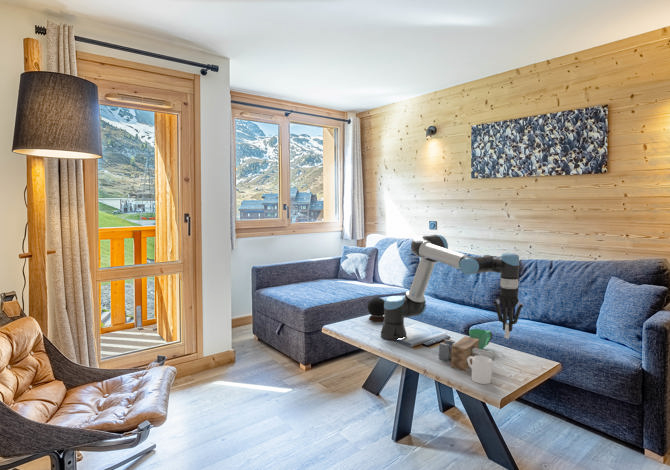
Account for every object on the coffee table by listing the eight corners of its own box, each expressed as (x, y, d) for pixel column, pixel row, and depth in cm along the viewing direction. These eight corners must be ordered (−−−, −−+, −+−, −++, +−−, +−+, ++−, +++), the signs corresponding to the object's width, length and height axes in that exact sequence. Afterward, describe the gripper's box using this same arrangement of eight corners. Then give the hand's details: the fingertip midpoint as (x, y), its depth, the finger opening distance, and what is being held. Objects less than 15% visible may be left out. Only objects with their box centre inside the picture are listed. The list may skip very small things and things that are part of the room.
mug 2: (472, 371, 185) (473, 351, 184) (494, 381, 174) (495, 360, 174) (460, 375, 180) (461, 354, 180) (482, 385, 170) (483, 363, 169)
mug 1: (478, 354, 206) (479, 335, 205) (464, 348, 214) (464, 330, 214) (497, 349, 212) (498, 331, 212) (483, 344, 221) (484, 326, 220)
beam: (451, 366, 190) (451, 345, 189) (464, 355, 204) (465, 336, 203) (465, 370, 185) (466, 349, 185) (478, 359, 200) (478, 339, 199)
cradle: (438, 359, 199) (439, 343, 198) (445, 354, 205) (445, 339, 205) (448, 361, 196) (448, 345, 195) (454, 356, 202) (454, 341, 201)
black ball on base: (377, 315, 276) (377, 294, 275) (390, 319, 266) (391, 298, 264) (363, 318, 267) (363, 297, 266) (377, 323, 257) (377, 301, 256)
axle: (451, 350, 197) (451, 343, 197) (454, 348, 200) (454, 342, 199) (492, 361, 184) (492, 353, 184) (494, 358, 187) (494, 351, 187)
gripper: (491, 286, 181) (490, 336, 182) (522, 290, 173) (520, 342, 174) (496, 284, 187) (495, 332, 188) (526, 287, 178) (524, 338, 180)
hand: (507, 337), depth 181 cm, fingers closed
